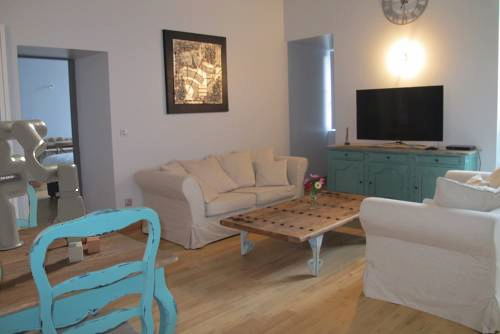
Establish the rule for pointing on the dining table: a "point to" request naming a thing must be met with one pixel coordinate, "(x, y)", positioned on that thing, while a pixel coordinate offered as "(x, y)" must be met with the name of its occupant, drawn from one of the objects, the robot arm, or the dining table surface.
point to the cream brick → (75, 251)
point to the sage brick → (73, 239)
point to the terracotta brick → (93, 244)
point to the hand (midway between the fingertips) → (74, 237)
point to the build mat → (77, 261)
